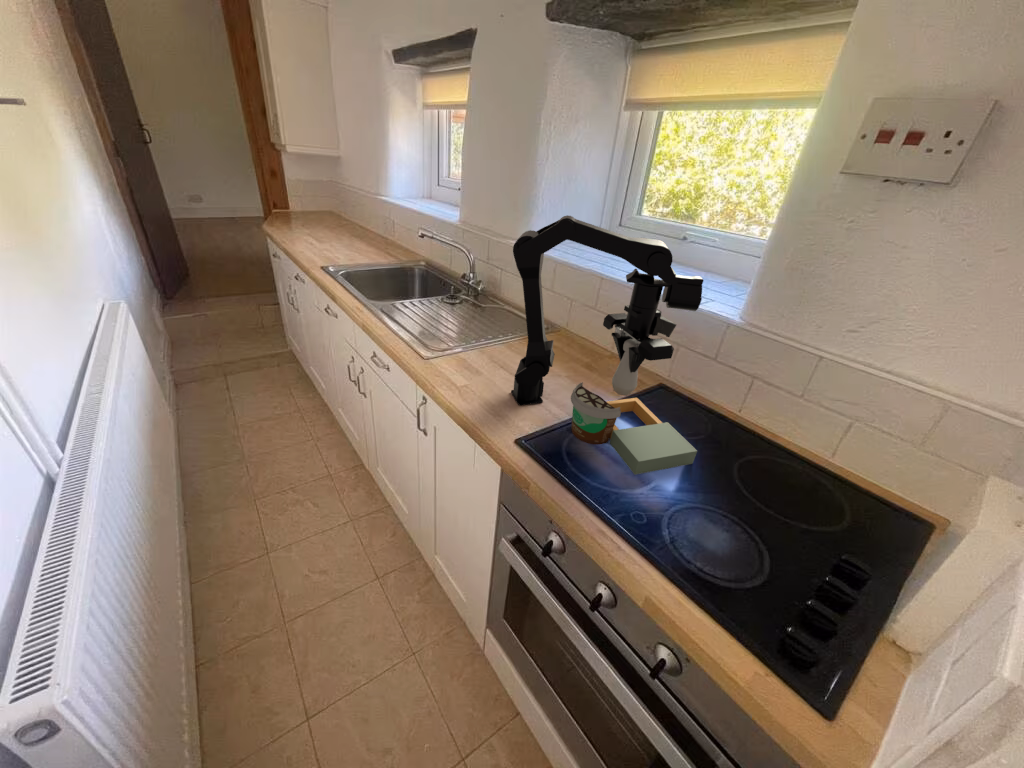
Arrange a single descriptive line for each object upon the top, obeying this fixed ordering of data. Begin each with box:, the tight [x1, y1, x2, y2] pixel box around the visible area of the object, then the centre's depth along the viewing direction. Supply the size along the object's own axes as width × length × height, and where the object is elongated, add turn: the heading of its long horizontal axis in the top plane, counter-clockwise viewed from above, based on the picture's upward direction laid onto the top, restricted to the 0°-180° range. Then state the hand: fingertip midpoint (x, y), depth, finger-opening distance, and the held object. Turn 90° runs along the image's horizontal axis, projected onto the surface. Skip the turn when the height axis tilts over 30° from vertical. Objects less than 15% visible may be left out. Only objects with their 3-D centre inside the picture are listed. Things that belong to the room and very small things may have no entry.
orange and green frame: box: [606, 397, 698, 476], centre depth 91 cm, size 14×21×4 cm, turn 18°
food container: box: [570, 381, 622, 446], centre depth 88 cm, size 12×6×10 cm, turn 35°
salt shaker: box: [611, 339, 639, 397], centre depth 93 cm, size 6×6×13 cm
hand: (627, 369), depth 94 cm, fingers closed on salt shaker, 3 cm apart
